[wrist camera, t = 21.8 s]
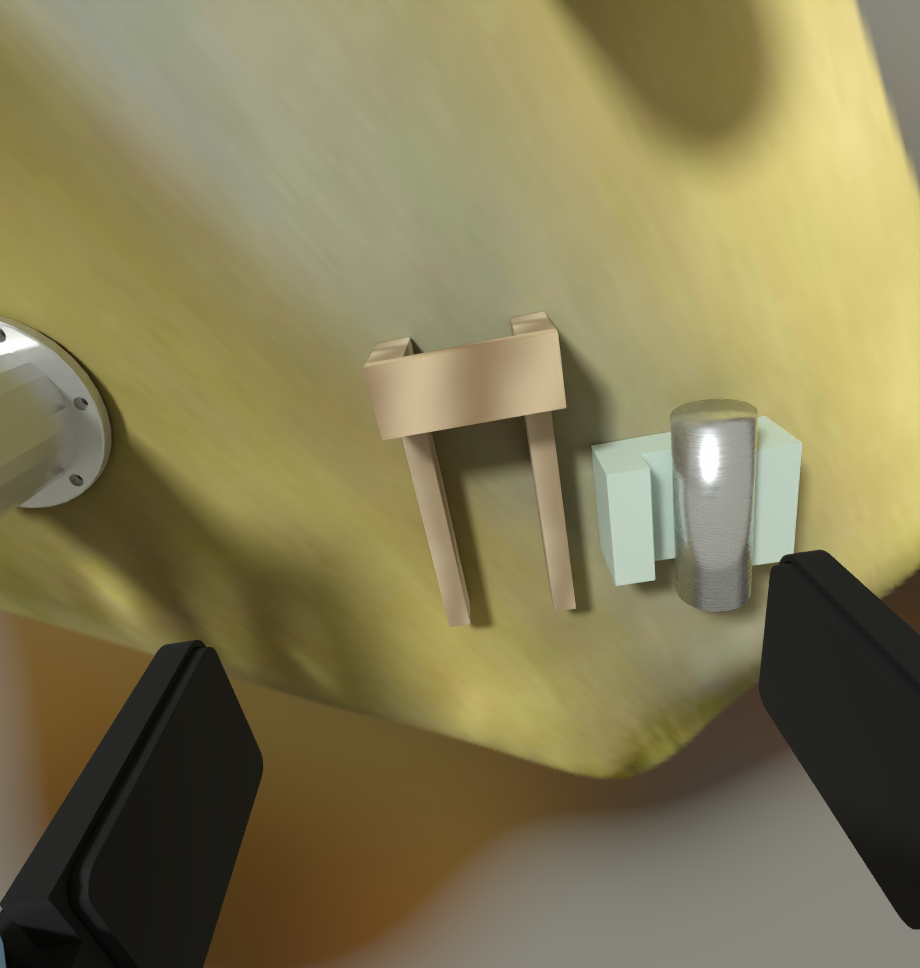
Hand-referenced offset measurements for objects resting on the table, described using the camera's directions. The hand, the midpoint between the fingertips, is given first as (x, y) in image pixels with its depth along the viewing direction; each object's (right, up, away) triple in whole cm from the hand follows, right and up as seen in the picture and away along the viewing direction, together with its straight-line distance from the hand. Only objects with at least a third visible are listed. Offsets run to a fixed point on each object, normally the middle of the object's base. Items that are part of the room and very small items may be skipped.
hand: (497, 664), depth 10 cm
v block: (+14, +3, +29) cm, 32 cm away
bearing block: (+1, +4, +29) cm, 29 cm away
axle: (+13, +2, +26) cm, 30 cm away
